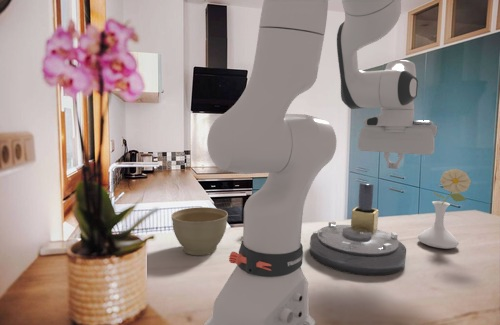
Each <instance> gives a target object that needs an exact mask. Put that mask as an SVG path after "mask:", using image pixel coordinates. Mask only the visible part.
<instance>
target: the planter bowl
mask: <svg viewBox="0 0 500 325" xmlns="http://www.w3.org/2000/svg"><path fill="white" fill-rule="evenodd" d="M228 217H229V214H228V212H227V211H226V210H224V209H221V208H217V207H208V206H207V207H204V206H203V207H201V206H200V207H199V206H198V207H189V208H184V209H183V208H182V209H179V210H177V211H175V212H172V214H171V221H172V228H173V232H174V236H175V238H176V240H177V242H178V243H179V244H180V245H181V247H182V248H183V251H184V253H185V254H188V255H190V256H204V255H205V256H207V255H210V254H212V253H215V252H216V251H217V249H218V245H219V244H220V243H221V241H222V239H223V237H224V235H225V233H226V230H227V224H228Z"/></svg>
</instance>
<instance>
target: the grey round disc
mask: <svg viewBox="0 0 500 325" xmlns="http://www.w3.org/2000/svg"><path fill="white" fill-rule="evenodd" d="M350 218H351V219H350V220H351V222H350V224H337V223H336V222H335V221H329V222H328V226H324V227H321V228H319V229H317V231H318V237H317V238H318V240H319V242H320V243H321V244H323V245H324V246H326V247H328V248H330V249H333V250H336V251H339V252H343V253H348V254H353V255H361V256H384V255H389V254H392V253H394V252H396V251H397V250H398V246H399V242H400V241H399V240H398V234H397V233H396V232H391V233H389V232H386V231H383V230H381V229H378V226H379V225H378V224H379V209H377V208H372V213H367V212H361V211H358V206H355V207H354V208H353V209H352V210H351V216H350ZM398 241H399V242H398Z"/></svg>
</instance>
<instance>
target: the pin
mask: <svg viewBox="0 0 500 325" xmlns="http://www.w3.org/2000/svg"><path fill="white" fill-rule="evenodd" d="M373 197H374V184H373V183H369V182H361V183H359V189H358V203H357V205H358V206H357V207H358V211H361V212H367V213H372V209H373V199H374V198H373Z"/></svg>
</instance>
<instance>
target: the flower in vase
mask: <svg viewBox="0 0 500 325" xmlns="http://www.w3.org/2000/svg"><path fill="white" fill-rule="evenodd" d="M439 182H440V184H441V187H442V186H443V188H442V189H443V190H445V191H448V192H450V193H449V194H448V196H447V197H446V198H445V197H444V196H442V195H441V194H438V193H436V192H435V191H434V190H433V191H432V192H433V194H434V195H435V196H437V197H439V198H441V199H443V201H439V200H435V201H434V200H433V201H431V203H432V205H433V207H434V210H435V218H434V219H435V220H434V221H435V222H434V224H433V225H432V226H431V227H429V228H426V229H425V230H423V231H421V232H420V233H419V234H418V235H417V239H418V241H419V242H421V243H422V244H424V245H427V246H429V247H432V248H437V249H444V250H445V249H453V248H454V249H455V248H457V247H458V246H459V244H460V243H459V240H458V239H457V238H456V237H455V235H453V234H452V233H451V232H450V231H449V230H448V229H447V228H446V227H445V225H444V221H445V220H444V219H445V213H446V210H447V209H448V208H449V206H451V203H449V202H447V200H448V199H449V198H451V199H452V200H453V201H455V202H464V201H467V199H466V197H465V196H463V195H462V194H461V193H464V192H466V191H468V190H469V187H470V186H471V184H472V183H471V182H472V180H471V179H470V177H469V176H468V173H466V172H465V171H463V170H462V169H457V168H453V169H449V170H445V171H443V172H442V175H441V176H440V180H439Z"/></svg>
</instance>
